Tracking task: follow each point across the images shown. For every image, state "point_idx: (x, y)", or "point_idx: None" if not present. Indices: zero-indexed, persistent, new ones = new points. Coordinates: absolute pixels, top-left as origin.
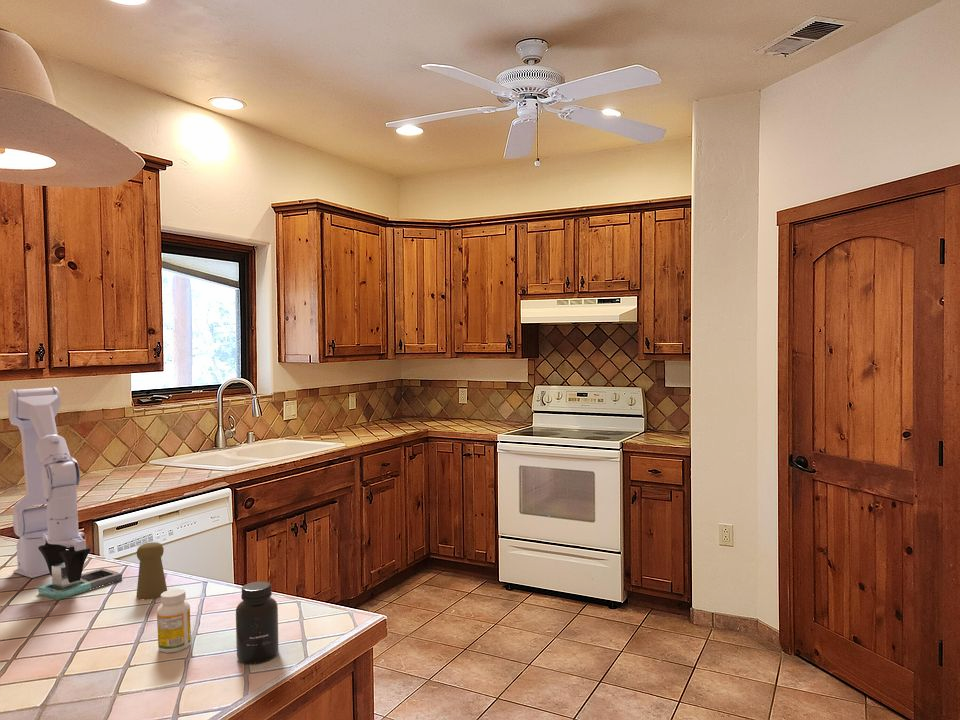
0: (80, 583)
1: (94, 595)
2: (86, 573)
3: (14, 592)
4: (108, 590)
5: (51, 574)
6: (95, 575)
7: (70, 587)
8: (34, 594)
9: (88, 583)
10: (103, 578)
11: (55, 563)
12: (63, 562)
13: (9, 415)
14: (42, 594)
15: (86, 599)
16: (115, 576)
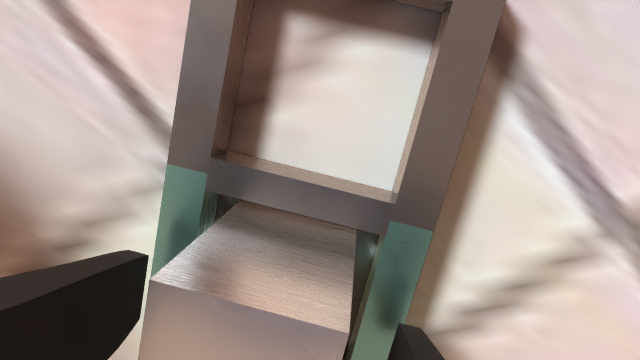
0: (354, 249)
1: (538, 288)
2: (197, 64)
3: None
4: (565, 193)
5: (123, 336)
6: (244, 17)
7: (361, 332)
8: None
9: (424, 243)
10: (449, 122)
11: (68, 353)
12: (145, 351)
13: None
14: None
15: (541, 351)
16: (493, 33)
